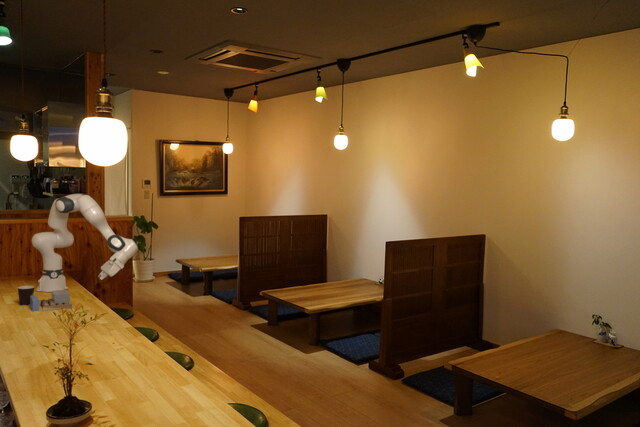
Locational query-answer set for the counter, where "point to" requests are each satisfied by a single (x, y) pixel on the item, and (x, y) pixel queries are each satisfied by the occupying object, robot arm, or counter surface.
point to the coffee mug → (25, 294)
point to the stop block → (34, 303)
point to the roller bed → (53, 305)
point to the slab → (60, 296)
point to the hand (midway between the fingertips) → (99, 278)
